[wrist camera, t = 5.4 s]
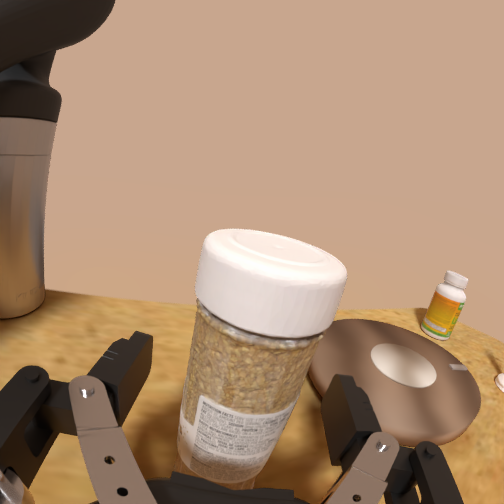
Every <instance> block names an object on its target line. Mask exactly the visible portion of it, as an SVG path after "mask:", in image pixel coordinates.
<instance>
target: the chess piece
mask: <svg viewBox="0 0 504 504" xmlns="http://www.w3.org/2000/svg"><path fill="white" fill-rule="evenodd" d="M495 383H496V385H497V386H498V388H499V389H500V390H501V391H503V392H504V373H501V374H499V375H498V376H497V378H496V379H495Z"/></svg>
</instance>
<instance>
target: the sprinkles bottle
mask: <svg viewBox="0 0 504 504" xmlns="http://www.w3.org/2000/svg"><path fill="white" fill-rule="evenodd" d="M346 280H347V271H346V268H345V267H344V265H343V264H342V263H341V262H340V261H339V260H338V259H337V258H335V257H334V256H332V255H331V254H329V253H327V252H326V251H324V250H321V249H319V248H317V247H315V246H312V245H310V244H307V243H304V242H302V241H298V240H296V239H292V238H289V237H285V236H281V235H277V234H272V233H267V232H262V231H256V230H248V229H222V230H217V231H214V232H212V233H210V234H209V235H208V236H207V237H206V238H205V240H204V243H203V247H202V251H201V256H200V261H199V266H198V272H197V279H196V284H195V292H196V295H197V297H198V298H197V308H198V310H197V312H196V320H195V326H194V333H193V337H192V344H191V349H190V358H189V362H188V368H187V376H186V379H185V384H184V389H183V399H182V404H181V411H180V419H179V427H178V437H177V448H178V454H177V460H176V462H175V465H174V471H175V472H179V473H183V474H187V475H191V476H195V477H200V478H204V479H206V480H208V481H211V482H213V483H216V484H218V485H221V486H223V487H226V488H229V489H232V490H246V489H253V487H254V483H255V479H256V477H257V475H258V474H259V472H260V471H261V470H262V469H263V467H264V466H265V464H266V462H267V460H268V458H269V456H270V455H271V453H272V451H273V449H274V447H275V445H276V443H277V441H278V439H279V437H280V435H281V433H282V431H283V429H284V427H285V425H286V423H287V421H288V419H289V417H290V415H291V413H292V410H293V408H294V406H295V404H296V402H297V400H298V397H299V395H300V389H301V386H302V384H303V382H304V378H305V376H306V374H307V371H308V368H309V366H310V364H311V362H312V359H313V357H314V354H315V352H316V350H317V347H318V344H319V341H320V340H321V339H322V338H323V336H324V335H325V333H326V329H327V328H329V327H330V325H331V324H332V322H333V320H334V317H335V314H336V312H337V309H338V306H339V303H340V300H341V297H342V294H343V290H344V287H345V284H346Z"/></svg>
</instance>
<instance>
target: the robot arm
mask: <svg viewBox="0 0 504 504" xmlns="http://www.w3.org/2000/svg"><path fill="white" fill-rule="evenodd" d="M114 3H115V0H0V318H13V317H18V316H22V315H24V314H27V313H30V312H31V311H33V310H35V309H36V308H37V307H39V306H40V305H41V304H42V302H43V301H44V298H45V286H44V219H45V204H46V192H47V182H48V174H49V166H50V159H51V152H52V146H53V141H54V136H55V130H56V126H57V124H56V123H57V121H58V116H59V112H60V107H61V101H62V99H61V95H60V93H59V92H58V91H57V90H55V89H53V88H52V87H50V85H49V75H50V71H51V67H52V63H53V60H54V56H55V53H56V50H59V49H62V48H65V47H68V46H71V45H74V44H76V43H78V42H80V41H82V40H84V39H86V38H87V37H89V36H90V35H91V34H93V32H95V31H96V30H97V29H98V28H99V27H100V26H101V25H102V24H103V23H104V22H105V20H106V19H107V17H108V16H109V14H110V13H111V11H112V8H113V6H114ZM152 348H153V336H151V335H148V334H145V333H142V332H138V331H135V332H134V334H133V335H132V336H131V337H130V339H129V340H127V339H124V338H122V339H119V340H117V341H115V342H113V343H112V345H111V346H110V347H109V348H108V349H107V351H106V352H105V353H104V354H103V357H101V358H100V359H99V360H98V362H97V363H96V364H95V365H94V366H93V368H92V369H91V370H90V371H89V373H88V374H87V375H86V376H79V377H76V378H74V379H73V380H72V381H71V382H70V383H67V382H60V381H55V380H50V379H49V375H48V373H47V372H46V371H45V370H44V369H43V368H41V367H39V366H26V367H23V368H22V369H20V370H19V371H18V372H17V373H16V374H15V375H14V376H13V378H12V379H11V380H10V381H9V382H8V383H7V384H6V385H5V386H4V387H3V389H2V390H1V391H0V504H35V501H34V498H33V496H32V494H31V492H30V491H29V490H28V489H29V487H30V485H31V483H32V481H33V479H34V478H35V476H36V474H37V472H38V470H39V468H40V466H41V465H42V463H43V461H44V459H45V457H46V455H47V454H48V452H49V450H50V448H51V447H52V445H53V443H54V441H55V440H56V438H57V436H58V435H59V433H64V434H70V435H75V436H78V439H79V443H80V446H81V450H82V454H83V457H84V460H85V464H86V467H87V470H88V473H89V476H90V479H91V482H92V485H93V488H94V491H95V493H96V496H97V499H98V500H97V501H95V502H92V503H90V504H310V503H308V502H306V501H303V500H301V499H298V498H294V490H286V489H272V488H258V489H246V490H232V489H229V488H226V487H223V486H221V485H218V484H216V483H213V482H211V481H208V480H206V479H204V478H200V477H195V476H191V475H187V474H183V473H179V472H175V471H173V472H172V475H171V478H151V479H147V480H145V479H144V477H143V475H142V473H141V471H140V469H139V467H138V465H137V463H136V460H135V458H134V456H133V454H132V451H131V449H130V447H129V444H128V442H127V440H126V437H125V435H124V432H123V430H122V428H121V427H122V425H123V423H124V421H125V419H126V417H127V415H128V413H129V411H130V409H131V408H132V406H133V404H134V402H135V400H136V398H137V396H138V394H139V392H140V391H141V389H142V387H143V385H144V383H145V381H146V379H147V378H148V375H149V373H150V369H151V364H152ZM370 403H371V402H370V400H369V397H368V395H367V394H366V393H365V391H364V390H363V389H362V388H361V387H357V386H356V383H355V381H354V378H353V376H351V375H343V374H335V375H334V376H333V378H332V380H331V383H330V385H329V387H328V389H327V391H326V393H325V395H324V397H323V399H322V402H321V414H322V419H323V424H324V429H325V434H326V439H327V444H328V449H329V454H330V459H331V465H332V466H342V470H343V472H342V473H341V474H340V475H339V477H338V478H337V479H336V481H335V482H334V484H333V485H332V486H331V488H330V489H329V490H328V491H327V493H326V494H325V495H324V497H323V498H322V499H321V500H320V501H319V503H318V504H378V502H379V501H380V499H381V497H382V495H383V494H384V498H385V503H386V504H464V503H463V500H462V498H461V495H460V493H459V490H458V488H457V485H456V483H455V480H454V478H453V476H452V473H451V471H450V468H449V466H448V464H447V462H446V459H445V457H444V455H443V453H442V451H441V449H440V448H439V447H438V446H437V445H436V444H434V443H432V442H429V441H422V442H420V443H419V444H418V445H417V446H416V447H415V448H414V449H412V448H407V447H402V446H399V443H398V441H397V440H396V439H395V438H394V437H393V436H392V435H390V434H388V433H385V432H382V429H381V427H380V424H379V422H378V419H377V417H376V414H375V412H374V411H373V407H372V405H371V404H370ZM417 484H418V487H419V490H420V493H421V503H420V502H419V498H418V495H417V492H416V488H415V486H416V485H417Z"/></svg>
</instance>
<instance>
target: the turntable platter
mask: <svg viewBox="0 0 504 504" xmlns="http://www.w3.org/2000/svg"><path fill="white" fill-rule="evenodd" d="M308 372H309V375H310V378H311V380H312V382H313V384H314V386H315V388H316V389H317V391H318V392H319V394H320V395H321V397H322V398H323V397H324V395H325V393H326V391H327V389H328V387H329V385H330V383H331V380H332V378H333V376H334V375H335V374H343V375H351V376H353V378H354V381H355V383H356V386H357V387H361V388H362V389H363V390H364V391H365V393H366V394H367V395H368V397H369V400H370V402H371V403H370V404H371V405H372V407H373V411H374V412H375V414H376V417H377V419H378V422H379V424H380V427H381V429H382V432H385V433H388V434H390V435H392V436H393V437H394V438H395V439H396V440H397V441H398V443H399V445H403V446H409V447H416V446H417V445H418V444H419V443H420V442H422V441H429V442H432V443H434V444H436V445H437V446H439V445H443V444H446V443H448V442H451V441H453V440H455V439H456V438H458V437H459V436H460V435H462V434H463V433H464V432H465V430H466V429H467V428H468V427H469V425H470V424H471V423H472V421H473V420H474V419H475V417H476V416H477V414H478V412H479V409H480V406H481V396H480V391H479V388H478V385H477V383H476V381H475V379H474V378H473V376H472V375H471V373H470V372H469V371H468V369H467V368H466V366H465V365H463V364H462V363H461V362H460V361H459V360H458V359H457V358H456V357H454V356H453V355H452V354H451V353H449V352H448V351H446V350H445V349H444V348H442V347H441V346H439V345H437V344H436V343H434V342H432V341H430V340H429V339H427V338H425V337H423V336H420V335H418V334H416V333H414V332H411V331H409V330H406V329H403V328H401V327H397V326H394V325H391V324H387V323H383V322H378V321H372V320H364V319H343V320H337V321H333V322H332V324H331V325H330V327H329V328H327V329H326V333H325V335H324V336H323V338H322V339H321V340H320V341H319V344H318V347H317V350H316V352H315V354H314V357H313V359H312V362H311V364H310V366H309V368H308Z"/></svg>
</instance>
